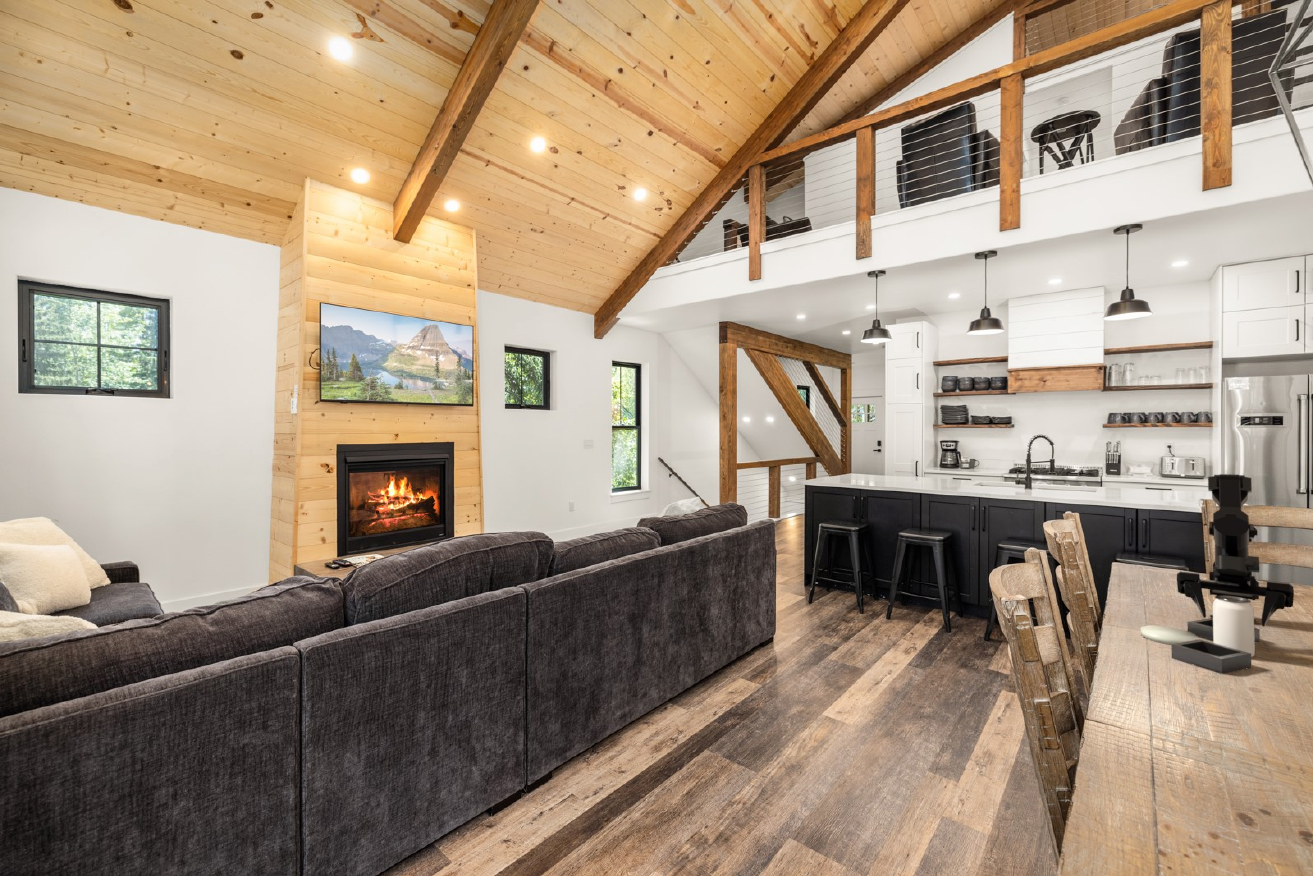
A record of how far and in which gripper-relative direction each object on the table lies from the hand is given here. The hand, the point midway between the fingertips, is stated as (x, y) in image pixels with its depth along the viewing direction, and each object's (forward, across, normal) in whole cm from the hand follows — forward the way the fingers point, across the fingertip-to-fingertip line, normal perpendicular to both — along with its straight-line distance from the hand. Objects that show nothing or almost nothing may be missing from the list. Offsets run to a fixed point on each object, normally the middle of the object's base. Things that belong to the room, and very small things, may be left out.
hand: (1233, 621), depth 128 cm
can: (+5, 0, +6) cm, 8 cm away
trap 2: (-3, -2, +14) cm, 14 cm away
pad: (+3, -11, +8) cm, 14 cm away
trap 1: (+12, -4, -2) cm, 13 cm away
